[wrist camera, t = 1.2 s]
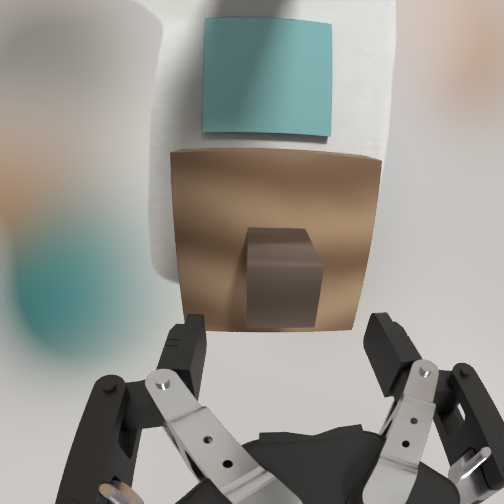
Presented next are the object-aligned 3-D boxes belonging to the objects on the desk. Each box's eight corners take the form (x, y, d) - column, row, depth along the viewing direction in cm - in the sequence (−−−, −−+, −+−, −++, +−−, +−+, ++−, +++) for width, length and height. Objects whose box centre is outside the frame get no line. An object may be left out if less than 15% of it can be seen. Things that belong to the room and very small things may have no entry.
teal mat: (206, 21, 26) (205, 18, 25) (329, 26, 26) (331, 24, 25) (203, 132, 32) (202, 132, 31) (328, 136, 32) (330, 136, 31)
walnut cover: (182, 149, 21) (137, 163, 13) (364, 155, 21) (426, 175, 13) (192, 307, 27) (171, 380, 18) (342, 307, 27) (371, 378, 19)
